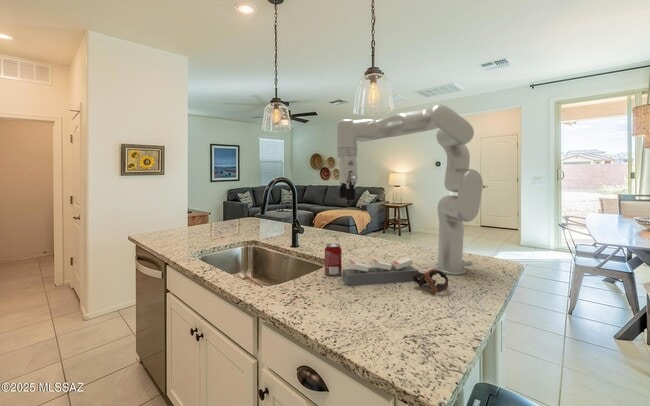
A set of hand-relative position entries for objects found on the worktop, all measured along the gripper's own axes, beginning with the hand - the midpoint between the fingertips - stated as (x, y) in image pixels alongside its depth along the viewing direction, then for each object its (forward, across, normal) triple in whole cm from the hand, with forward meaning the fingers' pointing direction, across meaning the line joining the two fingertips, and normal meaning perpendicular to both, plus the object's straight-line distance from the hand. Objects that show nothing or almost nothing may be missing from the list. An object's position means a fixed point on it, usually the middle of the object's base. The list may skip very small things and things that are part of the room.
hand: (346, 198), depth 115 cm
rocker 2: (+25, -5, -12) cm, 29 cm away
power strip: (+31, -5, -15) cm, 35 cm away
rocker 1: (+25, -5, -3) cm, 26 cm away
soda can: (+31, +6, +4) cm, 32 cm away
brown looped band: (+32, -17, -26) cm, 44 cm away
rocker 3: (+25, -5, -21) cm, 33 cm away
